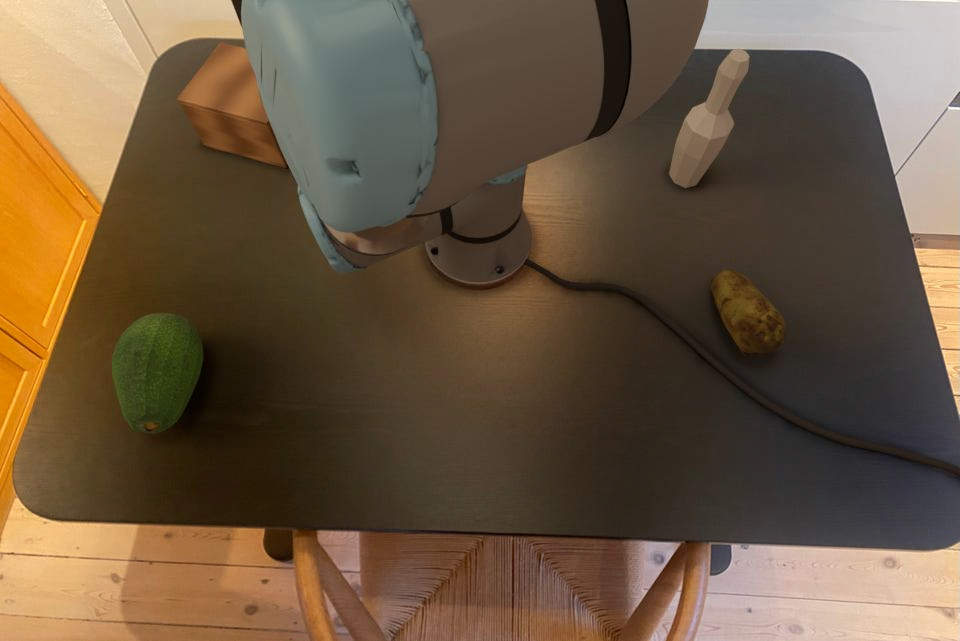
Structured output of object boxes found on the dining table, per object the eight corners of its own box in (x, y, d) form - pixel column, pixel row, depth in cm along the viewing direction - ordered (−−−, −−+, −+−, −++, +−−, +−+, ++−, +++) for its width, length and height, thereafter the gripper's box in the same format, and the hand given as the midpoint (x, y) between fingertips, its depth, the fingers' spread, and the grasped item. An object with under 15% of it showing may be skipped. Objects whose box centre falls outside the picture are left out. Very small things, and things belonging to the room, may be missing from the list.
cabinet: (321, 111, 99) (306, 63, 90) (286, 168, 94) (266, 122, 85) (242, 91, 101) (220, 41, 92) (203, 145, 96) (176, 98, 87)
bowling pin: (655, 172, 93) (701, 51, 73) (684, 153, 95) (737, 30, 75) (685, 199, 91) (741, 81, 71) (714, 178, 92) (777, 58, 73)
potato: (765, 286, 84) (791, 255, 77) (769, 372, 78) (798, 347, 71) (704, 278, 84) (725, 246, 77) (704, 362, 79) (726, 336, 72)
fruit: (203, 442, 74) (164, 417, 65) (122, 443, 74) (72, 419, 65) (223, 331, 81) (191, 295, 72) (149, 333, 81) (107, 297, 72)
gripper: (244, -183, 64) (302, 12, 85) (150, -86, 57) (239, 102, 78) (307, -172, 63) (350, 24, 84) (221, -71, 56) (291, 116, 77)
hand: (297, 61), depth 81 cm, fingers closed on can, 5 cm apart
